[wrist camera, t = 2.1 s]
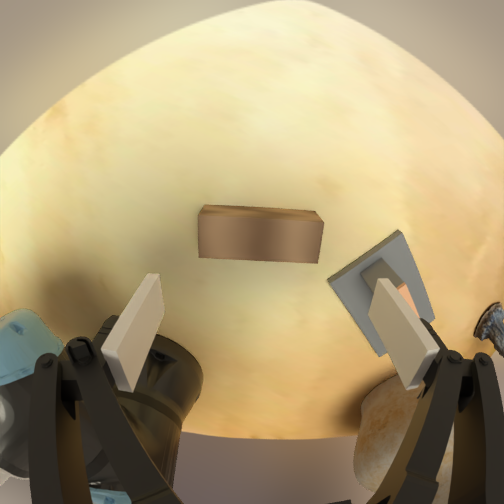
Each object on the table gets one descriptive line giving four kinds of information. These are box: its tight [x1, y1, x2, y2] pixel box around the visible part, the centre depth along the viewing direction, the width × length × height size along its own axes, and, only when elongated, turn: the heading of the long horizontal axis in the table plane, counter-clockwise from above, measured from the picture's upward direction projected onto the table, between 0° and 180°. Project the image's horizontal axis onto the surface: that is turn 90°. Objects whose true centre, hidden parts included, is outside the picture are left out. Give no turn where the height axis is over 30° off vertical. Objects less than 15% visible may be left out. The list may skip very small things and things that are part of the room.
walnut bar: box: [198, 205, 324, 264], centre depth 27 cm, size 11×4×4 cm, turn 87°
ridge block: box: [328, 230, 435, 357], centre depth 29 cm, size 10×16×7 cm, turn 37°
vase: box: [353, 374, 454, 504], centre depth 27 cm, size 22×22×30 cm
